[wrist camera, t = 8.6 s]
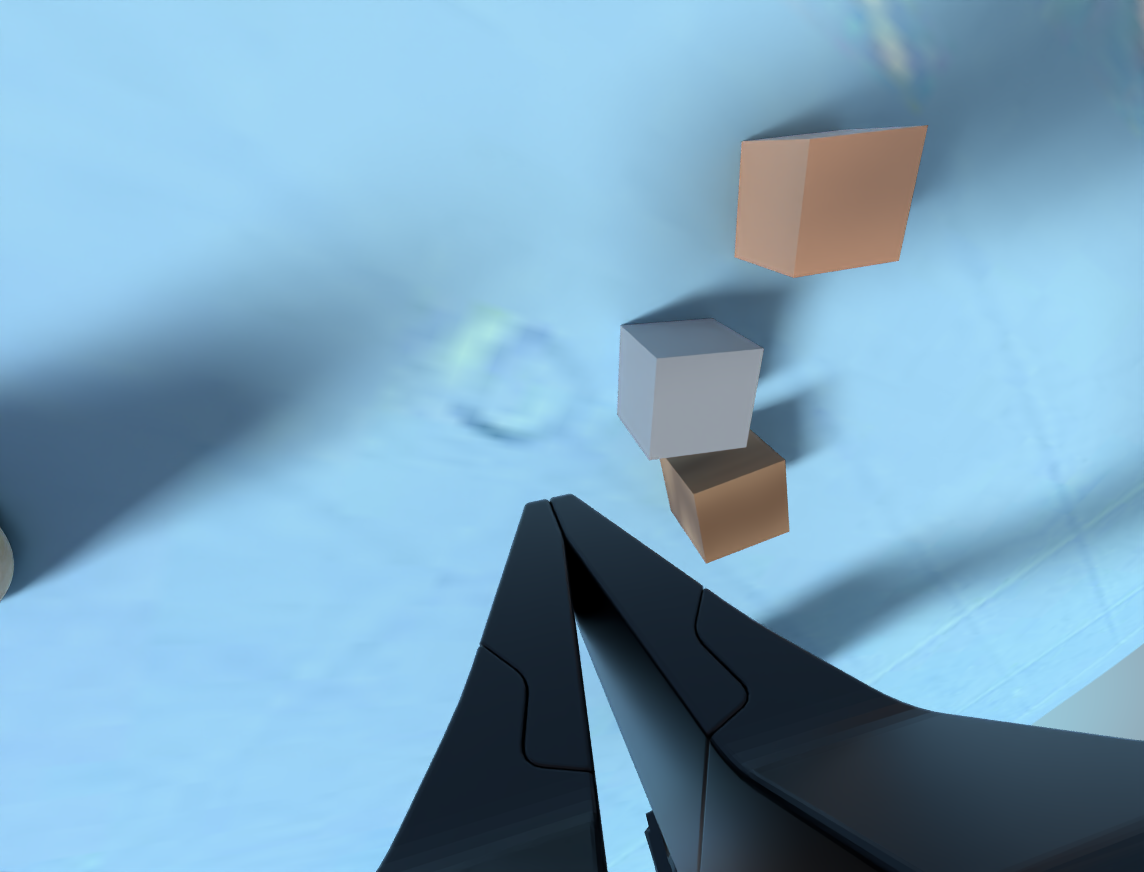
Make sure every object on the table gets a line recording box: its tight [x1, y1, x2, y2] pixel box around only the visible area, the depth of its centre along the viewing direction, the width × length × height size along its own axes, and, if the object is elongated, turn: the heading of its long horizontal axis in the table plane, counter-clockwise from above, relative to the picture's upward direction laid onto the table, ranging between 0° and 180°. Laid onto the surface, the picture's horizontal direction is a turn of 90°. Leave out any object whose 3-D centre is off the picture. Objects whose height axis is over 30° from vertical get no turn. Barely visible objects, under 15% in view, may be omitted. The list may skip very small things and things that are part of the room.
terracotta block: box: [735, 125, 928, 278], centre depth 18 cm, size 4×4×4 cm
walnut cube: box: [660, 429, 789, 563], centre depth 23 cm, size 4×4×4 cm
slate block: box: [617, 318, 764, 460], centre depth 20 cm, size 4×4×4 cm
